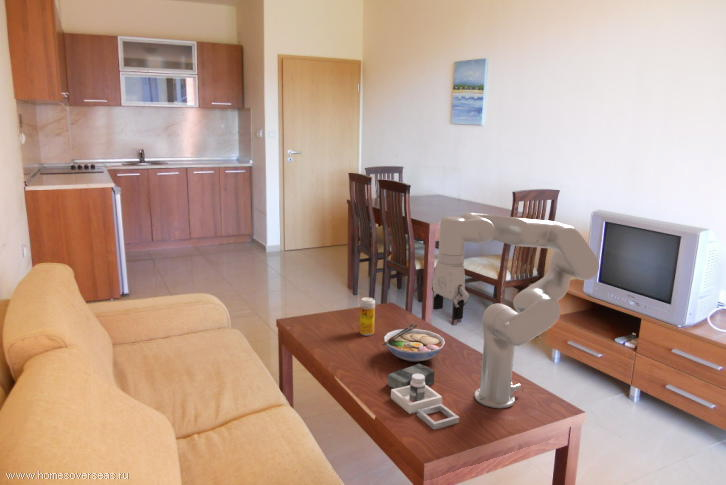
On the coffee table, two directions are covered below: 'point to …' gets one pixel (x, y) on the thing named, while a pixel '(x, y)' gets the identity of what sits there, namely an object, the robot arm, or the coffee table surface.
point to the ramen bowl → (414, 343)
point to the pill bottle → (417, 388)
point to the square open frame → (442, 423)
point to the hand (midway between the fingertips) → (447, 313)
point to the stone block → (410, 376)
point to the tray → (429, 400)
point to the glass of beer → (367, 316)
